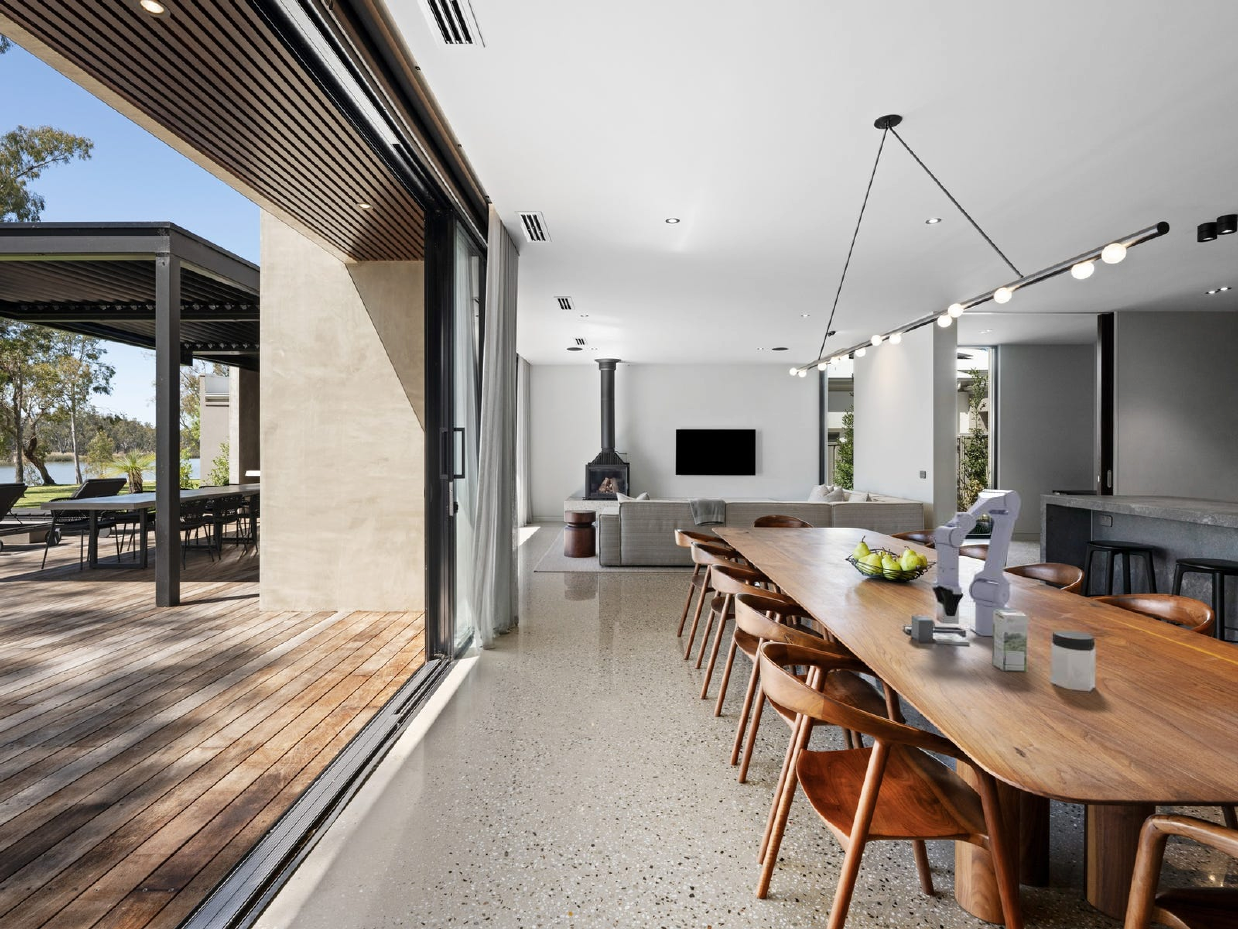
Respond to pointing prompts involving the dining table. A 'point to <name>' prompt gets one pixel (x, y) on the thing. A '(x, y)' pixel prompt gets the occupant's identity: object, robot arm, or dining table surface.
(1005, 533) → the robot arm
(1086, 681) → the jar
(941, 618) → the block
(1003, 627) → the syrup box
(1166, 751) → the dining table surface
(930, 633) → the press
